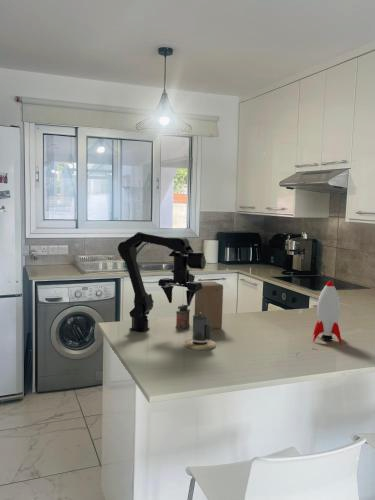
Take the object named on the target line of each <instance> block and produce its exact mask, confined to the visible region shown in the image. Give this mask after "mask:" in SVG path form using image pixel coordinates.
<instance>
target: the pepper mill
mask: <svg viewBox="0 0 375 500" xmlns="http://www.w3.org/2000/svg"><path fill="white" fill-rule="evenodd" d="M192 316H193V317H192V338H191V339H192V343H193V344H196V345H205V344H207V340H212V329H211V325H208V316H207V315H202V313H201V312H200V313H199V314H197V315H195V314H193V315H192Z"/></svg>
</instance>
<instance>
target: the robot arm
mask: <svg viewBox="0 0 375 500" xmlns="http://www.w3.org/2000/svg"><path fill="white" fill-rule="evenodd" d="M143 243H147V244H153V245H158V246H163V247H165V248H168V249H170V250H172V252H171V253H169V254H168V256H169V257H173V264H172V265H173V269H171V273H173V274H172V275H173V276H172V278H169V277H165V278H160V279H159V280H158V283H157V285H158V286H159V287H160V288H161V289H162V291H163V292H164V294H165V296H166V298H167V301H168V302H169V304H172V302H173V289H174V286H175V287H181V288H186V289H187V290H186V291H185V294H186V305H187V306H188V307H190V306H191V303H192V300H193V298H194V297H195V293H196V291H199V290H200V289H202V284H201V282H202V281H195V275H194V274H191V273H190V269H195V270H204V269H205V267H206V262H207V260H206V256H205V253H204V252H201V251H200V252H195V251H194V250H193V248H192V247H191V245H190V241H189V239H188V238H187V237H184V236H183V237H182V236H179V237H178V236H177V237H176V236H175V237H174V236H172V237H171V236H170V237H169V236H164V235H158V234H154V233H148V232H146V231H139V232H136V233H135V234H134V235H132V236H131V237H129V238H128V239H126V240H125V241H121V242H119V244H118V246H117V252H118V254H119V256H120V258H121V259H122V260H123V261H124V263H125V265H126V268H127V272H128V276H129V279H130V283H131V286H132V290H133V292H134V298H133V304H134V305H133V306H134V307H133V308H132V310H130V311H129V312H128V313H129V317H130V318H131V327H129V329H128V330H129V331H135V332H139V333H142V332H144V331H147V330H150V328H151V327H149V320H148V315H149V314H150V312H151V311H152V310H153V308H154V300H153V295H152V294H151V293H149V294H148V293H147V291H146V289H145V286H144V282H143V279H142V276H141V272H140V268H139V264H138V262H137V257H138V250H137V248H138V247H140V246H141V245H142V244H143ZM188 267H189V269H188Z"/></svg>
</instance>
